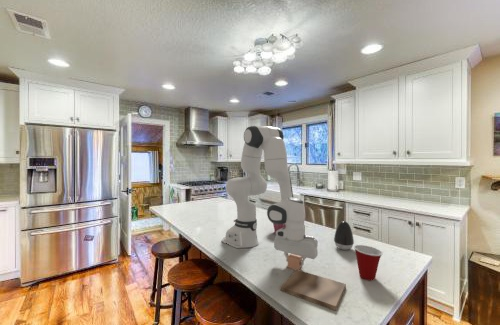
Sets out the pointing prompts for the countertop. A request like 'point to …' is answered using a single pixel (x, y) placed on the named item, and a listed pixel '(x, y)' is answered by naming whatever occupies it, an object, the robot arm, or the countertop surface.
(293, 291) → the walnut board
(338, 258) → the countertop surface
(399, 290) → the countertop surface
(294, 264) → the cube
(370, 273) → the plastic cup
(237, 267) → the countertop surface
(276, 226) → the plant pot
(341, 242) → the black glossy tall piece
